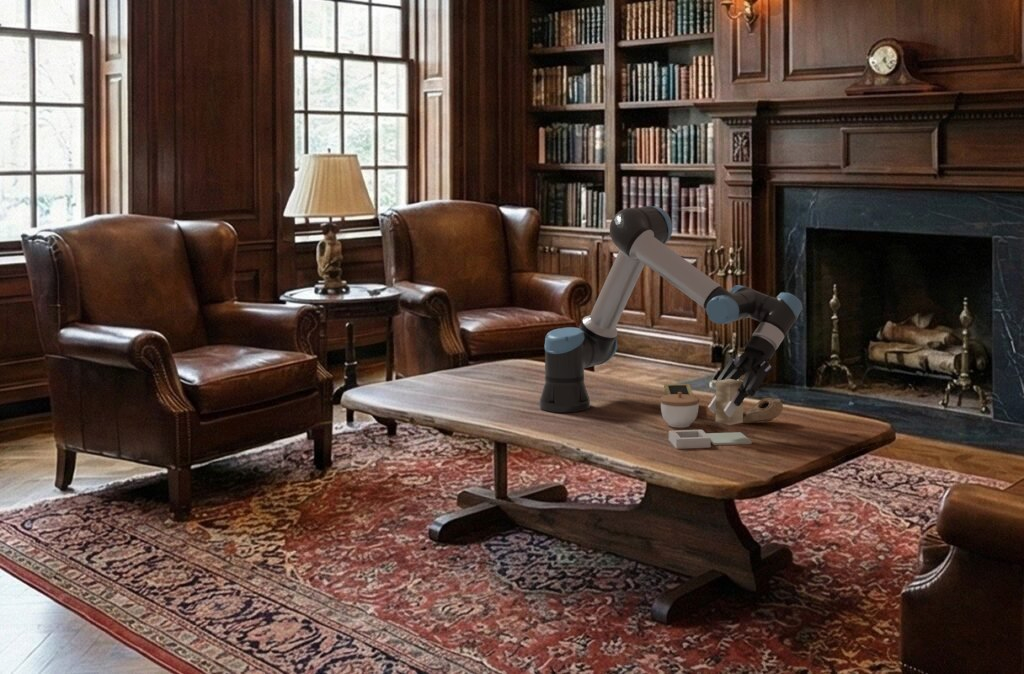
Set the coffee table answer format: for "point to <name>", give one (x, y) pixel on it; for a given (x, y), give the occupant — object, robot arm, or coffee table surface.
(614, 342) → the robot arm
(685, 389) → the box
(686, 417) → the lidded jar
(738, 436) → the felt pad
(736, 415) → the maple block
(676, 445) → the stone well
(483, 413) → the coffee table surface
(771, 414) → the pottery oil lamp
